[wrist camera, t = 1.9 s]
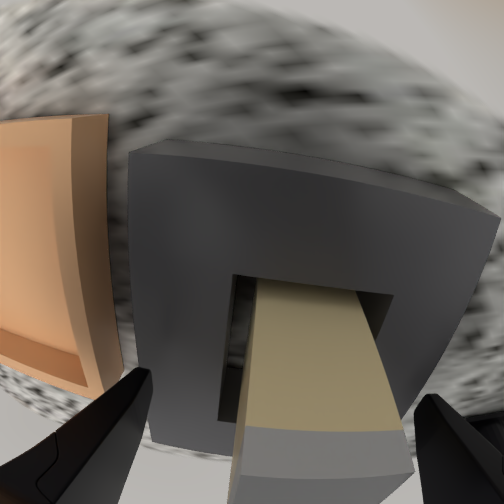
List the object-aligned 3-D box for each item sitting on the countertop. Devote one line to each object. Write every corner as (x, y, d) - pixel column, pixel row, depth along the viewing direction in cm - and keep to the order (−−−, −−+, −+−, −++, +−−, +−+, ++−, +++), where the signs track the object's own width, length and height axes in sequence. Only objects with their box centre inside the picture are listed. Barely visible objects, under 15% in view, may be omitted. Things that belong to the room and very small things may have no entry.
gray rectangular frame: (454, 189, 10) (501, 218, 7) (359, 415, 15) (368, 461, 12) (166, 139, 10) (129, 152, 7) (167, 394, 15) (152, 441, 12)
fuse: (344, 263, 11) (414, 471, 4) (312, 365, 13) (328, 541, 6) (260, 252, 11) (240, 474, 4) (244, 357, 13) (222, 538, 6)
